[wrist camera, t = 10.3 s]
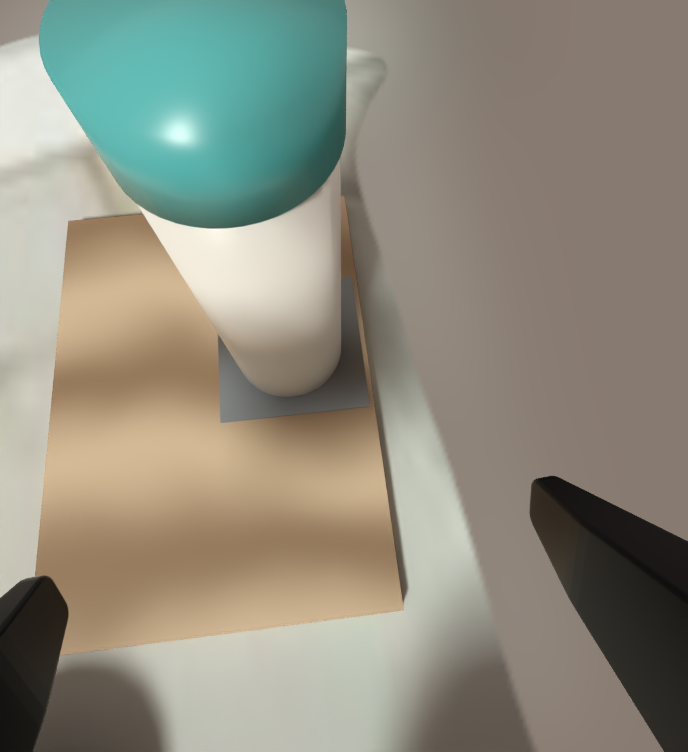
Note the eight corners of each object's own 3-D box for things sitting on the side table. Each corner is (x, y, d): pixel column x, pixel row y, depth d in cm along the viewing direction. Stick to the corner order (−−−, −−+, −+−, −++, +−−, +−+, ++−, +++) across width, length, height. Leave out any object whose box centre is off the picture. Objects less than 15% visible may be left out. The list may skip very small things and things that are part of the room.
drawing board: (401, 607, 17) (404, 610, 16) (38, 654, 16) (25, 660, 15) (344, 204, 22) (344, 193, 22) (75, 228, 22) (67, 219, 21)
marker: (313, 418, 18) (254, 181, 6) (213, 371, 19) (-28, 69, 7) (361, 323, 20) (394, -29, 7) (267, 282, 20) (150, -106, 8)
